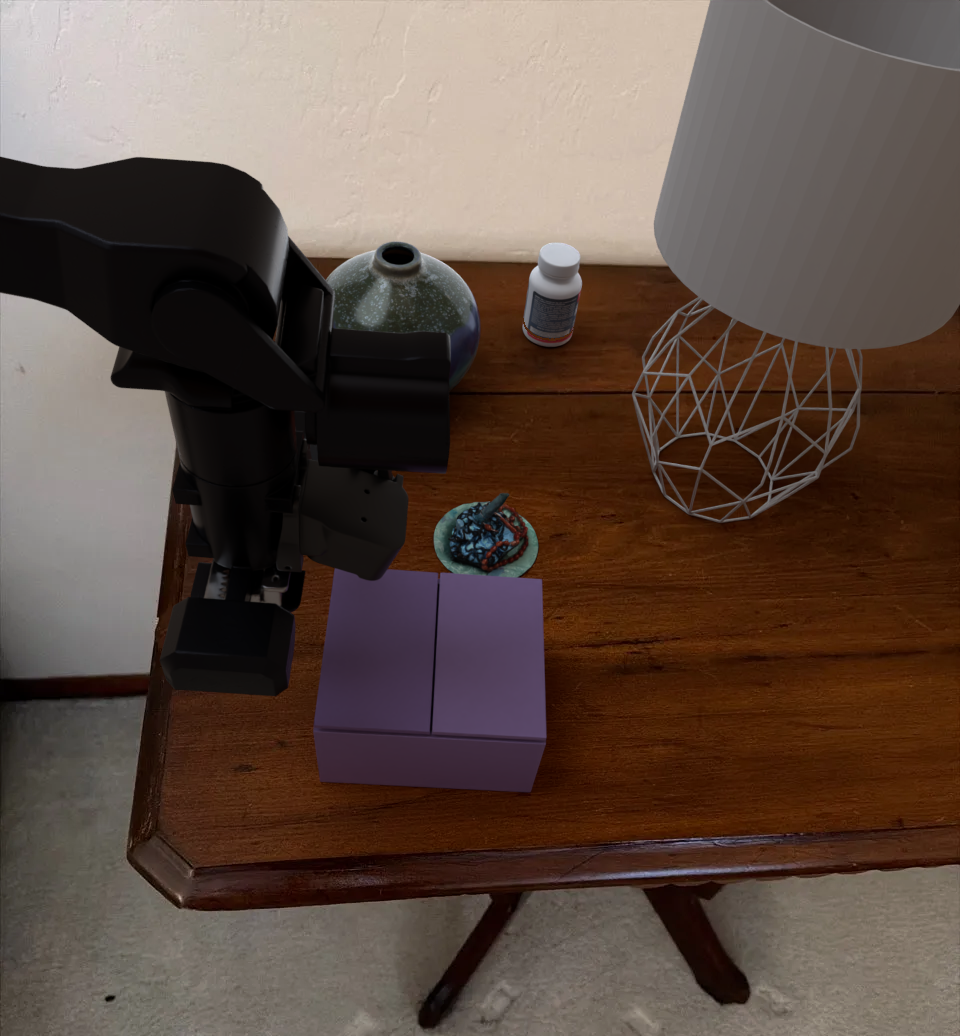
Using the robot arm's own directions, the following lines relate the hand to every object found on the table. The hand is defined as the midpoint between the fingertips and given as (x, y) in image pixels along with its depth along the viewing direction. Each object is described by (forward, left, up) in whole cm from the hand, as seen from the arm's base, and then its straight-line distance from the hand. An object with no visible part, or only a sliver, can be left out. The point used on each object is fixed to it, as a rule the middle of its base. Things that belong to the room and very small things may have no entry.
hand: (264, 625), depth 58 cm
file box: (+11, +1, -11) cm, 16 cm away
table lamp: (+36, +28, -12) cm, 47 cm away
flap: (+7, +1, -3) cm, 8 cm away
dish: (+15, +18, -12) cm, 26 cm away
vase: (+6, +38, -12) cm, 40 cm away
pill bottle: (+21, +47, -12) cm, 52 cm away
